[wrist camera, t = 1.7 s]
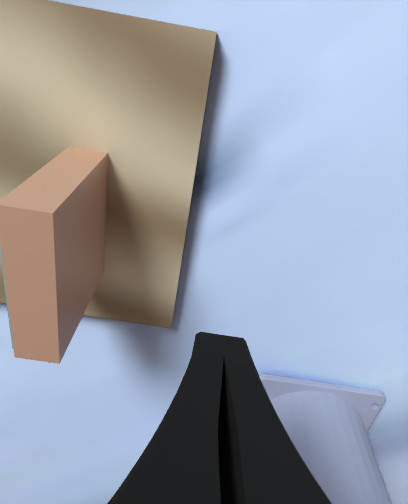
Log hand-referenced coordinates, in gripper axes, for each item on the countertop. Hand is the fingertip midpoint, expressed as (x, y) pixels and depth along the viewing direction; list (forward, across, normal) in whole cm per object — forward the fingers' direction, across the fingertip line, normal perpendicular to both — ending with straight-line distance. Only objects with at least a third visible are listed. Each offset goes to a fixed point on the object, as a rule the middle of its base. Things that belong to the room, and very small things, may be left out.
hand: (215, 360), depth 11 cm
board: (+8, +8, -1) cm, 12 cm away
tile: (+8, +6, 0) cm, 10 cm away
